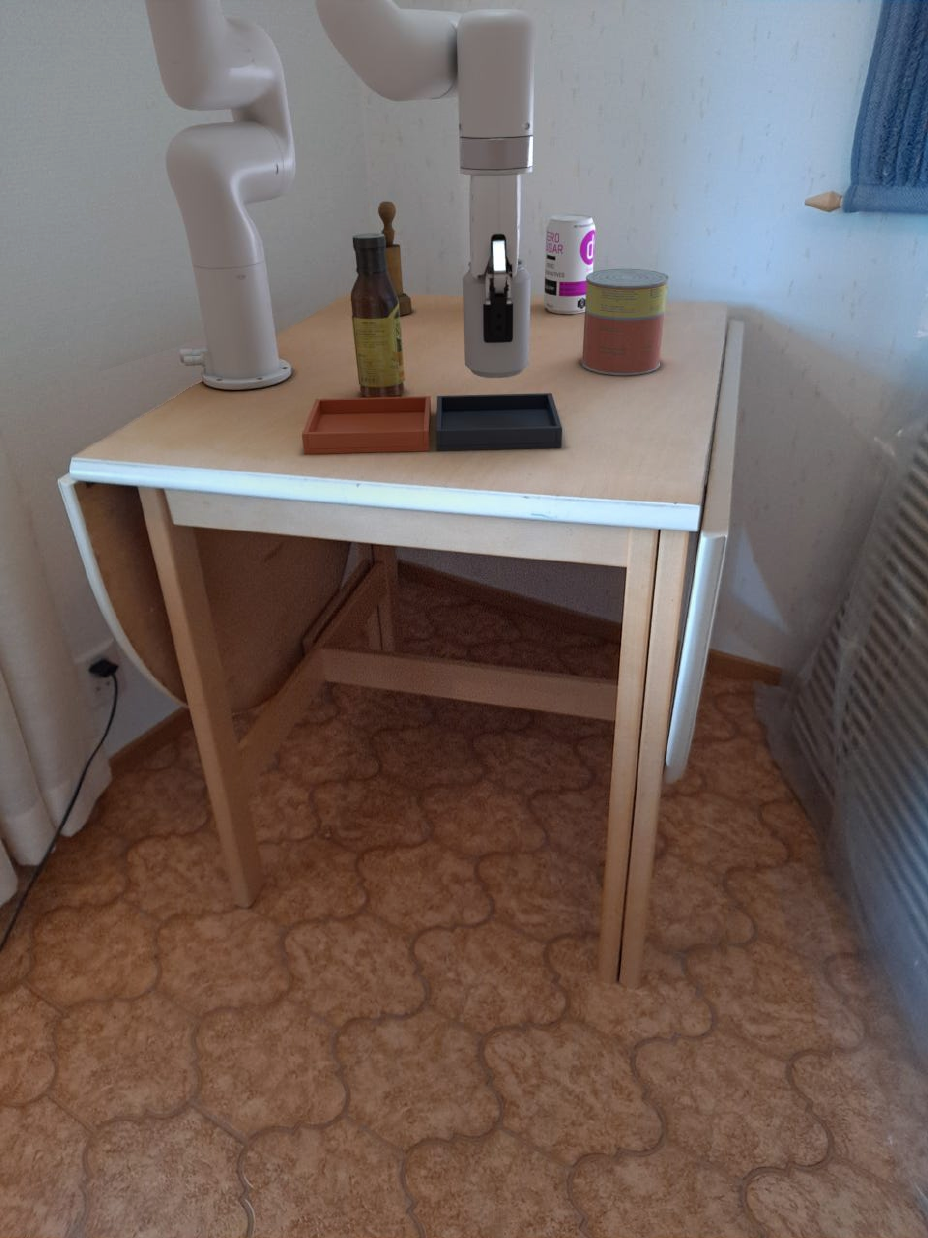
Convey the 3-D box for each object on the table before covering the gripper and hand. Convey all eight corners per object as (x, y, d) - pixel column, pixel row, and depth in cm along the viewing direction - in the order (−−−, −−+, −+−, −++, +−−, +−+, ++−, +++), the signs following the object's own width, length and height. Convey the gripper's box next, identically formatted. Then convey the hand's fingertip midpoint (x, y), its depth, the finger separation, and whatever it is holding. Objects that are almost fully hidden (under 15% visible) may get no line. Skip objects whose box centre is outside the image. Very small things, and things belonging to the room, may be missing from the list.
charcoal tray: (436, 450, 99) (435, 430, 98) (437, 414, 109) (436, 395, 108) (561, 447, 99) (562, 427, 98) (551, 411, 109) (551, 392, 108)
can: (524, 381, 97) (525, 268, 90) (458, 379, 98) (455, 266, 92) (533, 362, 103) (535, 254, 96) (471, 359, 104) (469, 253, 98)
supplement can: (597, 306, 154) (603, 215, 146) (577, 317, 149) (582, 222, 141) (557, 302, 158) (560, 212, 150) (536, 311, 152) (538, 219, 144)
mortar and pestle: (371, 309, 156) (363, 200, 146) (406, 306, 158) (400, 197, 148) (379, 318, 151) (371, 205, 141) (415, 314, 152) (410, 202, 143)
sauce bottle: (411, 397, 115) (402, 236, 104) (366, 404, 113) (352, 241, 102) (396, 383, 120) (386, 229, 109) (353, 390, 118) (338, 233, 107)
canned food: (675, 362, 126) (685, 275, 119) (628, 380, 119) (636, 289, 113) (613, 348, 132) (619, 265, 126) (565, 364, 126) (569, 277, 119)
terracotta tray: (304, 453, 99) (301, 434, 98) (318, 417, 110) (315, 398, 108) (429, 450, 99) (428, 430, 98) (431, 414, 109) (430, 395, 108)
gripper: (458, 149, 96) (462, 313, 105) (460, 165, 81) (464, 354, 91) (526, 147, 96) (524, 312, 105) (540, 163, 81) (535, 352, 91)
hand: (496, 330), depth 98 cm, fingers closed on can, 7 cm apart
